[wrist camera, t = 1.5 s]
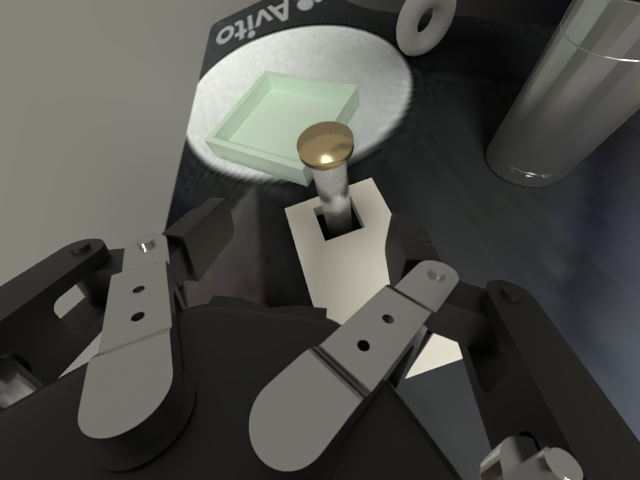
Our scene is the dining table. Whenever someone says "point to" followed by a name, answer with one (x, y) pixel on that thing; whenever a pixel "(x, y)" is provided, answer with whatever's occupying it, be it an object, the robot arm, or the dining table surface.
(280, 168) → the tray
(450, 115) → the dining table surface
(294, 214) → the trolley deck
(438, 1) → the donut
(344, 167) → the pin
